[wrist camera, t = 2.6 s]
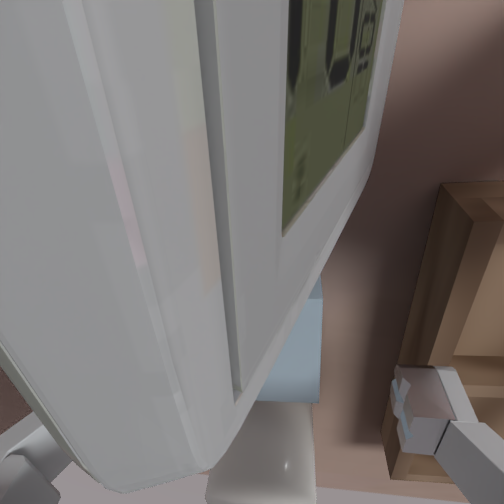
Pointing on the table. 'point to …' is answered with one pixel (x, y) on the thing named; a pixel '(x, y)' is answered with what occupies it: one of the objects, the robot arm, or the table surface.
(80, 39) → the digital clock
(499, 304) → the organiser base
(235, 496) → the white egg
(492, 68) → the table surface
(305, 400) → the blue cube
